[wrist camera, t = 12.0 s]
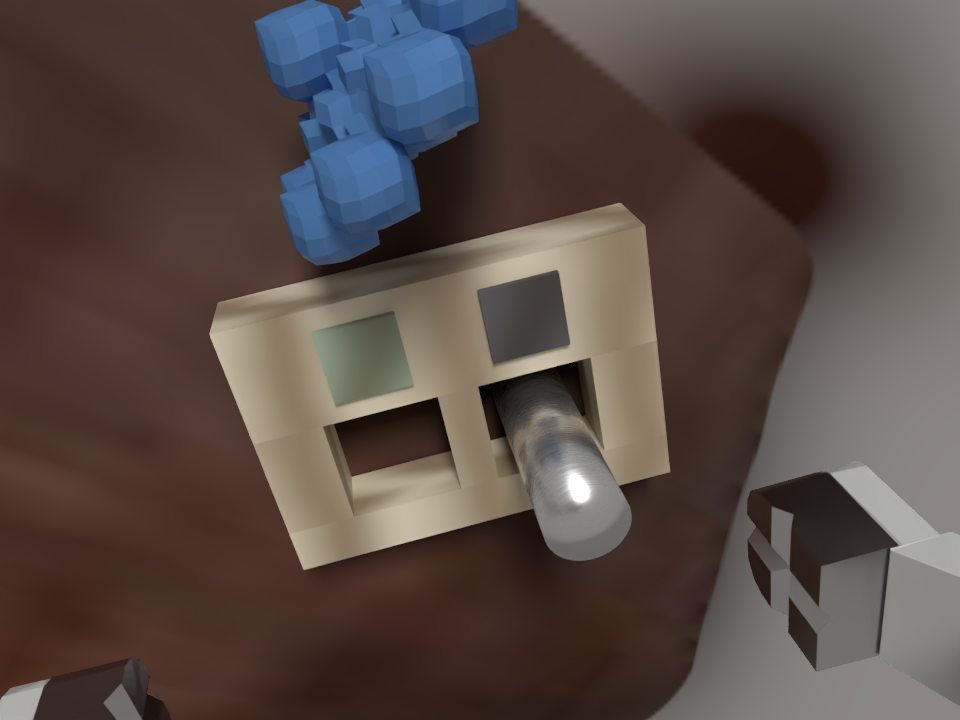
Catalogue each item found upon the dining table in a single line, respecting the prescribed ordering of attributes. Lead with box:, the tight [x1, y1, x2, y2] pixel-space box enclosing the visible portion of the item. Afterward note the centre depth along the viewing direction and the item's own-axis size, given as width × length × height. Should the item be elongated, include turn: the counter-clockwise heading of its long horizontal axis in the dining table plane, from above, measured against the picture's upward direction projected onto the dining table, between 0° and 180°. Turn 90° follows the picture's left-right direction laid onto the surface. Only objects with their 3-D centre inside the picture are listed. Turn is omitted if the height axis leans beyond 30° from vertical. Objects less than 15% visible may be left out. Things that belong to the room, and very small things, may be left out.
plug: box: [492, 367, 632, 561], centre depth 34 cm, size 3×3×10 cm
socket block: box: [209, 203, 670, 570], centre depth 36 cm, size 17×12×3 cm
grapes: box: [255, 0, 517, 265], centre depth 25 cm, size 12×7×12 cm, turn 149°
